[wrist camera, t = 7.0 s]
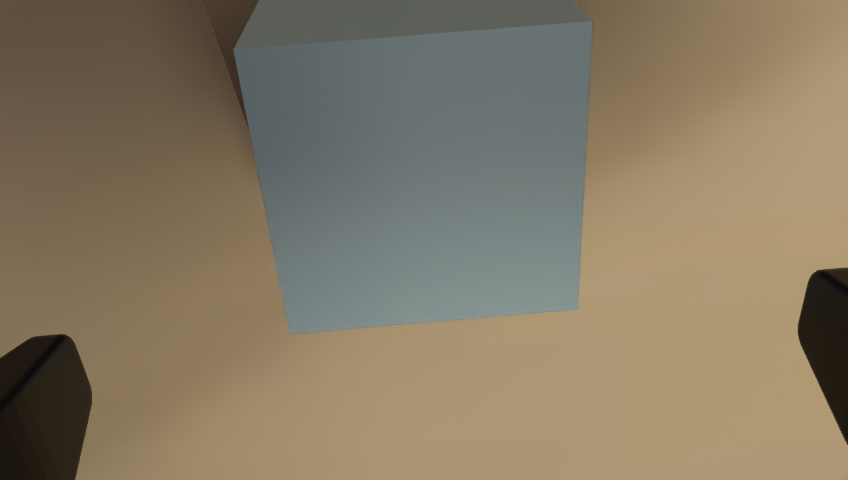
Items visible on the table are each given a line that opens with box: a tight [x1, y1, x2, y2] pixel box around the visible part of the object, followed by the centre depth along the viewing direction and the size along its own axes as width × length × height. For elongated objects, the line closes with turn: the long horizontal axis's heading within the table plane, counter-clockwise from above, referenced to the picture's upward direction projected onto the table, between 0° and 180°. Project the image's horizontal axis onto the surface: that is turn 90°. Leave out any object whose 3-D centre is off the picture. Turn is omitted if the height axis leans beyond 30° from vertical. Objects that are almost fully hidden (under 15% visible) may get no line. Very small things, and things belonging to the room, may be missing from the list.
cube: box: [233, 0, 593, 334], centre depth 14 cm, size 5×5×5 cm
